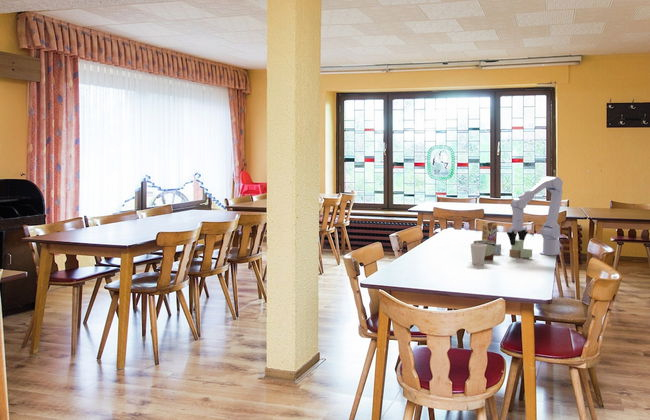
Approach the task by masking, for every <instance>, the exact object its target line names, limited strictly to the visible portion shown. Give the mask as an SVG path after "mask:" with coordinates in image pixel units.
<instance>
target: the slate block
mask: <svg viewBox="0 0 650 420" xmlns="http://www.w3.org/2000/svg"><path fill="white" fill-rule="evenodd" d="M500 254H502V244H501V243H496V246H495V251H494V255H496V256H498V255H500Z"/></svg>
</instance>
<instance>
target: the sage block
mask: <svg viewBox="0 0 650 420" xmlns="http://www.w3.org/2000/svg"><path fill="white" fill-rule="evenodd" d="M524 241H525V239H524V240H519V238H518V239H517V238H516V239H515V245H511V244H510V245H511V250H517V251H519V250H521V249H524V243H523V242H524Z"/></svg>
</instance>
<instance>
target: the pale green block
mask: <svg viewBox="0 0 650 420" xmlns="http://www.w3.org/2000/svg"><path fill="white" fill-rule="evenodd" d="M520 258H522V259H524V260H530V259H531V258H533V249H531V248H530V249H529V248H523V249H521V253H520Z"/></svg>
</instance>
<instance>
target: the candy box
mask: <svg viewBox="0 0 650 420" xmlns="http://www.w3.org/2000/svg"><path fill="white" fill-rule="evenodd" d="M497 232H498V222H497V221H484V222H482V231H481V233H482V235H481V240H484V241H494V242H495V243H496V244H497V239H498V238H497Z"/></svg>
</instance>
